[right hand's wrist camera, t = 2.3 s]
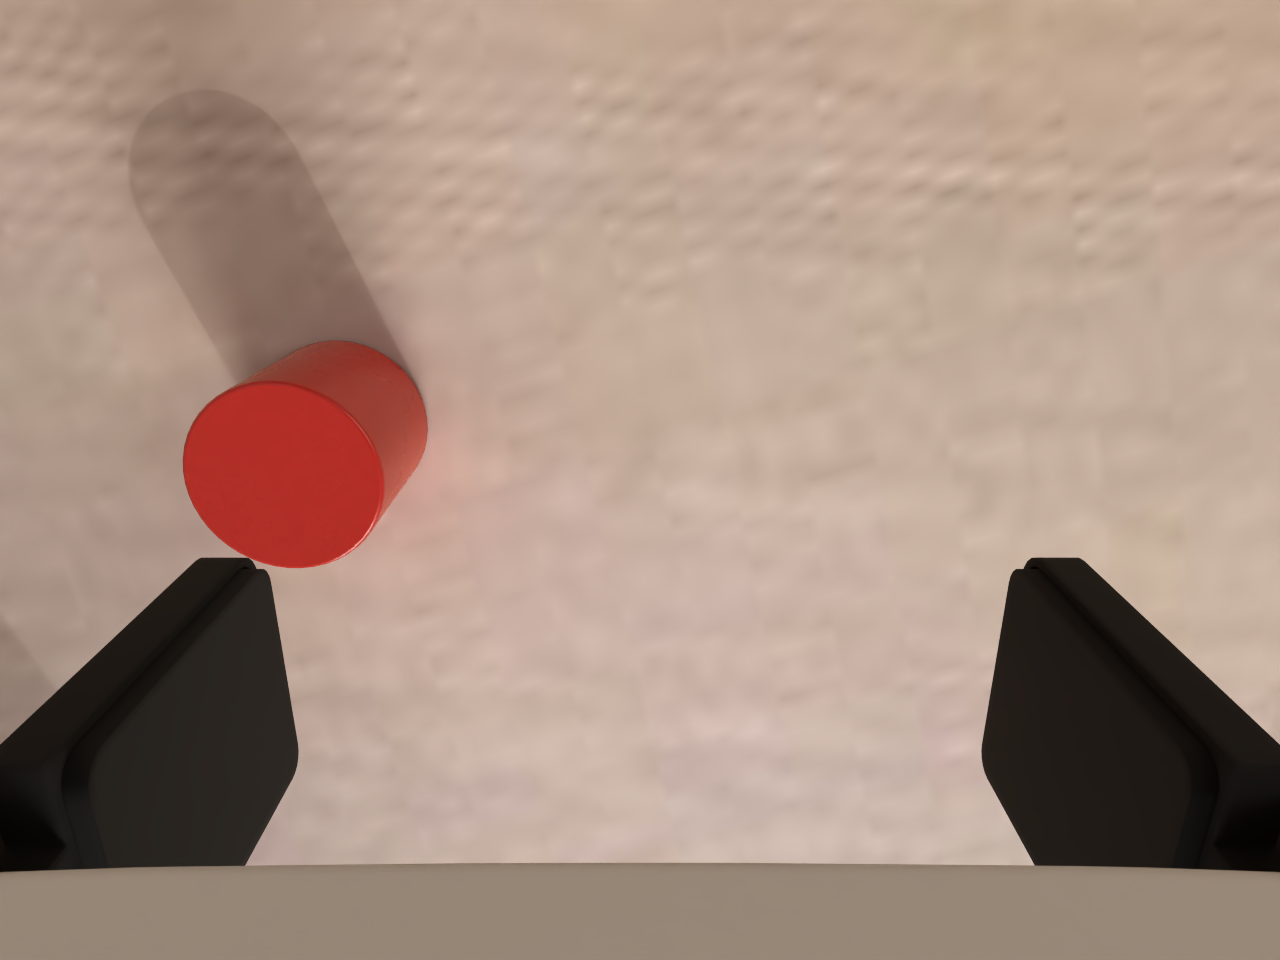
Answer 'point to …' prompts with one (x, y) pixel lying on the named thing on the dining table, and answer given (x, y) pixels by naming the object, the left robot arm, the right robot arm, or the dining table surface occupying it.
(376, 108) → the dining table surface
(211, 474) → the red cylinder
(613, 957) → the right robot arm
